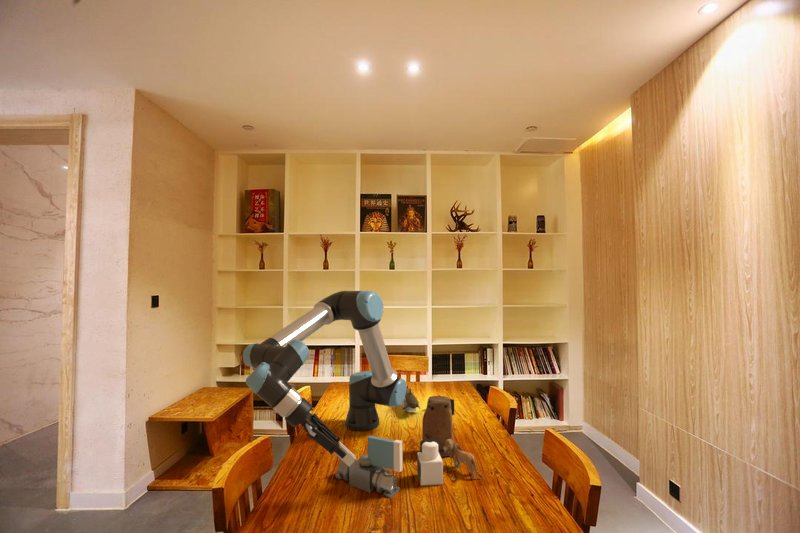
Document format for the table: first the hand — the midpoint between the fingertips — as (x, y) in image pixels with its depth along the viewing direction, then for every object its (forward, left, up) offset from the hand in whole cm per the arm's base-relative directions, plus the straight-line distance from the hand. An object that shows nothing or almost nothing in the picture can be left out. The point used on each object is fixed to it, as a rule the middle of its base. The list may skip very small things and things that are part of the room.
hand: (352, 461), depth 107 cm
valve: (-7, +5, -10) cm, 13 cm away
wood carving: (-75, +34, -11) cm, 83 cm away
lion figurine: (-7, +37, -11) cm, 39 cm away
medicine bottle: (-5, +25, -11) cm, 28 cm away
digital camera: (-64, +50, -11) cm, 82 cm away
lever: (-4, +9, -4) cm, 10 cm away
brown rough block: (-22, +33, -11) cm, 41 cm away
